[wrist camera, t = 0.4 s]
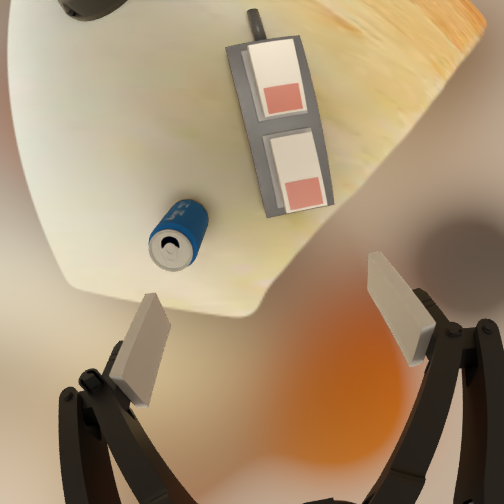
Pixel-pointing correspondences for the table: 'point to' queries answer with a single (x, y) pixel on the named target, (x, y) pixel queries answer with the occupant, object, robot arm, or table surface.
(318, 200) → the rocker
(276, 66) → the rocker
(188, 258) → the beverage can
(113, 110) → the table surface
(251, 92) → the power strip
